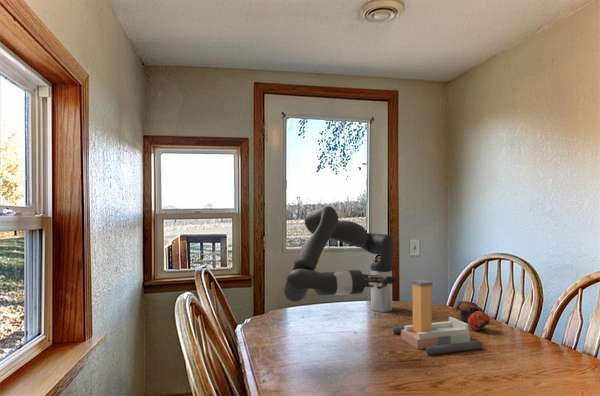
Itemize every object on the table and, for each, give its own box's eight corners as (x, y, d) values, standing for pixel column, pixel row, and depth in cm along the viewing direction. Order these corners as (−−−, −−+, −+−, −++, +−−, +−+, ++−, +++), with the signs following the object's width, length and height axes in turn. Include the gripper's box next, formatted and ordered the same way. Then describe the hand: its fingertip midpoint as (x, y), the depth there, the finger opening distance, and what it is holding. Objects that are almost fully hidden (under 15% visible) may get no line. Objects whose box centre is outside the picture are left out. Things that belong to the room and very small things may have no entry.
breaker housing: (417, 349, 123) (417, 330, 123) (401, 338, 132) (400, 321, 132) (469, 342, 128) (469, 324, 128) (450, 333, 138) (450, 316, 138)
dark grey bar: (428, 356, 117) (428, 348, 117) (424, 353, 119) (424, 345, 119) (484, 349, 122) (484, 341, 122) (478, 346, 125) (478, 339, 125)
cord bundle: (394, 335, 136) (394, 328, 136) (391, 332, 138) (391, 326, 138) (443, 329, 142) (443, 323, 142) (439, 327, 144) (439, 321, 144)
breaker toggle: (421, 335, 126) (420, 283, 126) (411, 330, 131) (411, 279, 131) (432, 334, 127) (432, 282, 127) (423, 329, 132) (422, 279, 132)
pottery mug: (449, 320, 155) (451, 300, 159) (464, 327, 159) (465, 308, 163) (476, 319, 146) (477, 298, 149) (491, 327, 149) (492, 306, 153)
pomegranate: (492, 336, 141) (473, 314, 148) (501, 324, 137) (481, 302, 144) (477, 341, 138) (459, 319, 145) (486, 329, 134) (467, 306, 141)
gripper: (355, 274, 115) (406, 271, 120) (338, 267, 128) (385, 265, 133) (355, 299, 115) (406, 295, 120) (338, 289, 128) (385, 286, 133)
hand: (395, 279), depth 126 cm, fingers closed
